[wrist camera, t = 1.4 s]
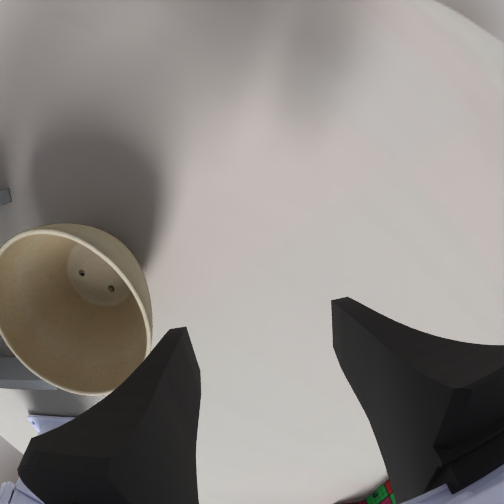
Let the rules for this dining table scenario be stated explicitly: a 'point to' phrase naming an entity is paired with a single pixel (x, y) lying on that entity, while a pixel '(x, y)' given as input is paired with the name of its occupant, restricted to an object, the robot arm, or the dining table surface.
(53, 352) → the flower pot
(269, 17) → the dining table surface
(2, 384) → the bracket
